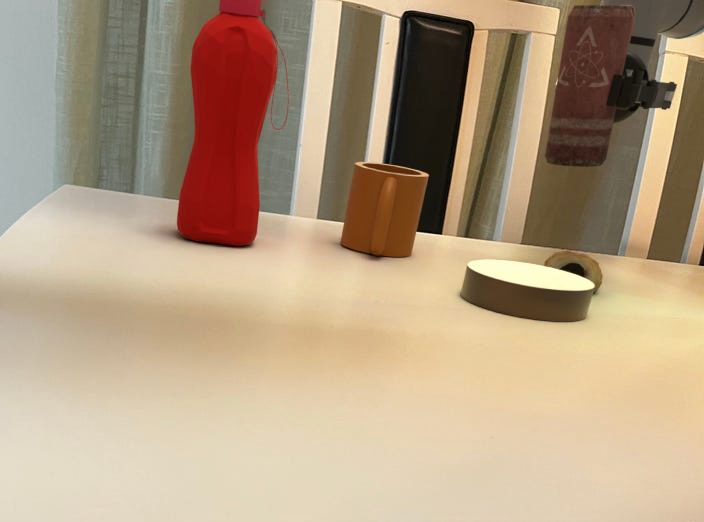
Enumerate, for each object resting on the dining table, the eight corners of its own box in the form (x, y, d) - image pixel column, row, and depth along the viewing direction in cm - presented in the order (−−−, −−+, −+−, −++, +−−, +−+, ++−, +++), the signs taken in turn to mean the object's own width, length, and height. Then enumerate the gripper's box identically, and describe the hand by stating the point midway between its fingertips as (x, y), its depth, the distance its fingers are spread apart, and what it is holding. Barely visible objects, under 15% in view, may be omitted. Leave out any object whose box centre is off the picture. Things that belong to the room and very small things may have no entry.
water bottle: (271, 253, 112) (306, -12, 99) (173, 240, 112) (196, -27, 99) (269, 237, 120) (301, -9, 107) (178, 226, 120) (199, -23, 107)
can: (617, 167, 102) (650, 4, 95) (557, 166, 102) (585, 3, 94) (592, 160, 107) (621, 5, 100) (535, 159, 107) (560, 4, 99)
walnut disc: (613, 320, 103) (622, 290, 101) (519, 323, 97) (527, 291, 95) (525, 287, 112) (533, 259, 111) (435, 288, 106) (441, 258, 105)
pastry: (542, 272, 121) (551, 239, 119) (599, 283, 120) (609, 250, 118) (537, 286, 113) (547, 251, 111) (598, 298, 112) (609, 262, 110)
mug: (324, 251, 117) (338, 167, 112) (349, 237, 127) (363, 159, 122) (399, 265, 115) (416, 180, 110) (419, 250, 125) (435, 171, 120)
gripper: (660, 130, 119) (677, 143, 99) (545, 114, 121) (540, 123, 102) (683, 58, 115) (705, 56, 95) (563, 42, 117) (561, 38, 98)
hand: (620, 91), depth 98 cm, fingers closed on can
